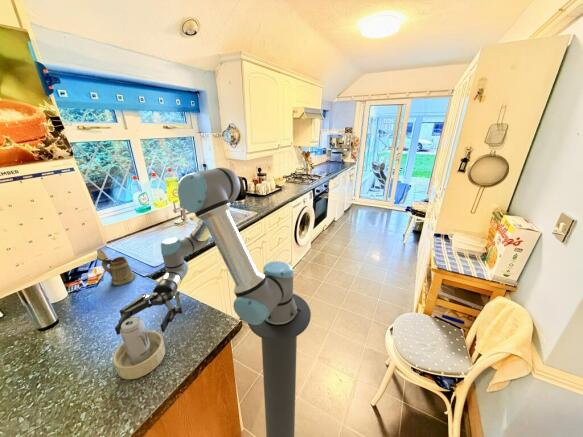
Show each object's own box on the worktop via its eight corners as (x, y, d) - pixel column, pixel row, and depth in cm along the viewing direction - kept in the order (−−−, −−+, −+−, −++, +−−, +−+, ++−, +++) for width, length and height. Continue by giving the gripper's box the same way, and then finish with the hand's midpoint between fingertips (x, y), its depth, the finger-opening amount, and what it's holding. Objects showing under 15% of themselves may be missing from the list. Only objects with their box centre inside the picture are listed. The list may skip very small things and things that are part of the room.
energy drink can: (149, 365, 73) (137, 329, 67) (127, 369, 72) (114, 332, 66) (155, 348, 78) (145, 313, 73) (135, 351, 77) (124, 316, 72)
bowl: (171, 340, 82) (168, 328, 80) (157, 377, 70) (153, 364, 68) (130, 345, 80) (126, 333, 78) (108, 384, 68) (103, 371, 66)
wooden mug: (106, 276, 116) (95, 244, 109) (137, 273, 119) (128, 241, 113) (97, 288, 108) (85, 254, 101) (130, 283, 111) (121, 250, 105)
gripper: (200, 293, 96) (182, 336, 76) (136, 296, 94) (101, 341, 74) (198, 277, 93) (178, 318, 73) (132, 280, 91) (94, 323, 71)
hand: (139, 330), depth 74 cm, fingers open, 13 cm apart
